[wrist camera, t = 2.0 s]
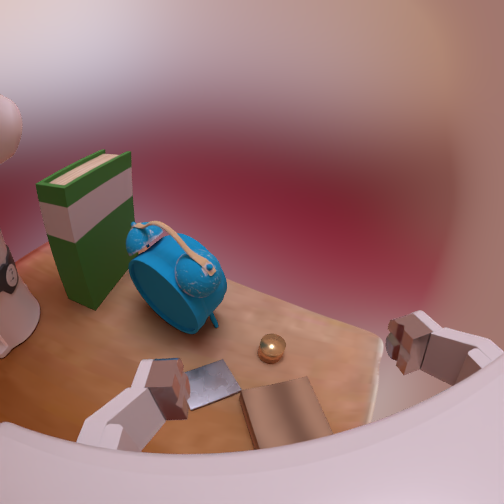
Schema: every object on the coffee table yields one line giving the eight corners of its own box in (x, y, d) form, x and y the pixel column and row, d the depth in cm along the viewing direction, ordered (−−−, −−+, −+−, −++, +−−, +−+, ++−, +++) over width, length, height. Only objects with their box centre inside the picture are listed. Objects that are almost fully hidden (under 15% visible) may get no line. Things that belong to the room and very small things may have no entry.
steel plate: (191, 412, 33) (191, 409, 32) (175, 379, 37) (174, 375, 36) (240, 393, 37) (241, 389, 36) (222, 362, 41) (222, 359, 40)
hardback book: (112, 249, 58) (101, 149, 44) (138, 256, 58) (131, 151, 44) (68, 298, 44) (35, 184, 30) (95, 310, 43) (64, 188, 30)
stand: (258, 459, 28) (262, 455, 26) (239, 398, 35) (241, 390, 34) (325, 439, 31) (333, 433, 29) (301, 385, 38) (307, 376, 37)
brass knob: (261, 365, 41) (265, 356, 39) (254, 346, 44) (257, 335, 42) (284, 361, 42) (289, 351, 40) (277, 342, 45) (280, 332, 43)
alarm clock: (234, 322, 47) (250, 223, 36) (198, 361, 40) (198, 260, 28) (166, 280, 53) (162, 187, 42) (128, 308, 45) (109, 210, 34)
